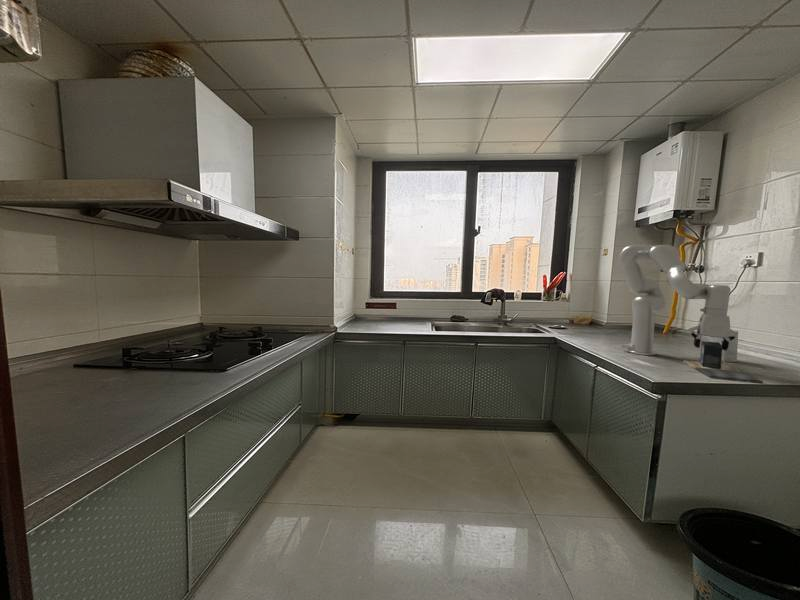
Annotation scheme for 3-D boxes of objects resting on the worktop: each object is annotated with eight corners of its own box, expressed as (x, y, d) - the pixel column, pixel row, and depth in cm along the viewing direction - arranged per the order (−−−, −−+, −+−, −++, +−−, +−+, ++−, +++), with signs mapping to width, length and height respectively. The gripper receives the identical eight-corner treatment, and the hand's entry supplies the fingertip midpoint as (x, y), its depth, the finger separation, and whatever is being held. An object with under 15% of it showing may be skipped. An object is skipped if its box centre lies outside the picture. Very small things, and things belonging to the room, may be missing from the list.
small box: (698, 361, 153) (700, 340, 153) (717, 364, 149) (719, 342, 149) (701, 366, 145) (703, 344, 144) (721, 369, 141) (723, 346, 140)
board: (710, 377, 132) (710, 375, 132) (682, 362, 156) (683, 360, 156) (762, 383, 126) (762, 380, 126) (725, 366, 150) (725, 364, 150)
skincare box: (737, 362, 158) (740, 331, 156) (723, 362, 158) (726, 331, 156) (720, 357, 166) (723, 328, 165) (707, 357, 166) (710, 328, 165)
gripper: (695, 311, 145) (690, 348, 147) (745, 314, 138) (739, 352, 140) (687, 309, 152) (683, 344, 154) (735, 312, 145) (730, 348, 147)
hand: (710, 348), depth 147 cm, fingers open, 9 cm apart
